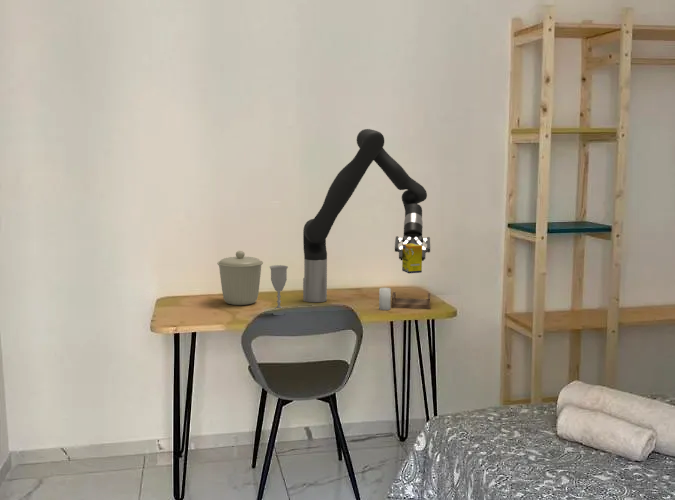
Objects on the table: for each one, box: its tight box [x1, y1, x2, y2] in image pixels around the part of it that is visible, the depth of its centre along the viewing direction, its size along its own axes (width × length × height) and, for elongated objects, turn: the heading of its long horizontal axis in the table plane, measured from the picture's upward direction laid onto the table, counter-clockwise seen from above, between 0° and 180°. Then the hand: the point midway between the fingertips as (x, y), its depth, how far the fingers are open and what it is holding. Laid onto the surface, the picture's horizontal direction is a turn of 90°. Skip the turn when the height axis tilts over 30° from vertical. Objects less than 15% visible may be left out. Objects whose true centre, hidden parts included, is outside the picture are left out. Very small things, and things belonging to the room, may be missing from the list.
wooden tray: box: [391, 291, 431, 310], centre depth 302 cm, size 15×11×4 cm
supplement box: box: [401, 243, 423, 274], centre depth 300 cm, size 6×6×11 cm
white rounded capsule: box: [378, 287, 392, 311], centre depth 295 cm, size 4×4×8 cm
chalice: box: [269, 264, 289, 309], centre depth 285 cm, size 7×7×18 cm
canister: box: [217, 250, 264, 306], centre depth 303 cm, size 18×18×21 cm
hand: (412, 259), depth 299 cm, fingers closed on supplement box, 8 cm apart
